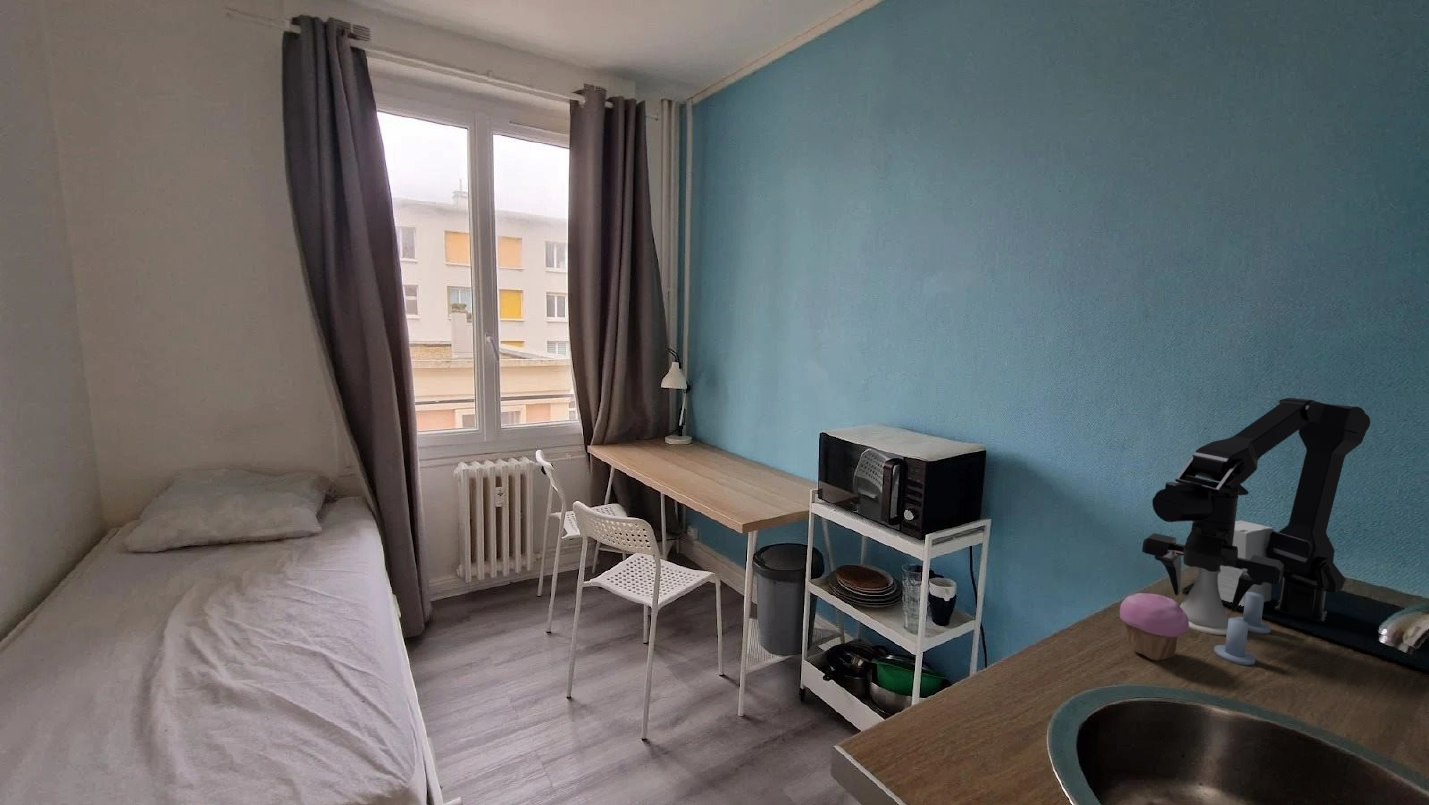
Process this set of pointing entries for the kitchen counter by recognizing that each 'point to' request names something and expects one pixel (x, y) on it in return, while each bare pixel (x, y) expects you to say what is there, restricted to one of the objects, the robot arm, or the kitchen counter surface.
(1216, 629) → the cream round disc
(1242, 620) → the pair of blue pegs
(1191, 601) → the flask
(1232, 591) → the skincare box
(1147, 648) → the cupcake
